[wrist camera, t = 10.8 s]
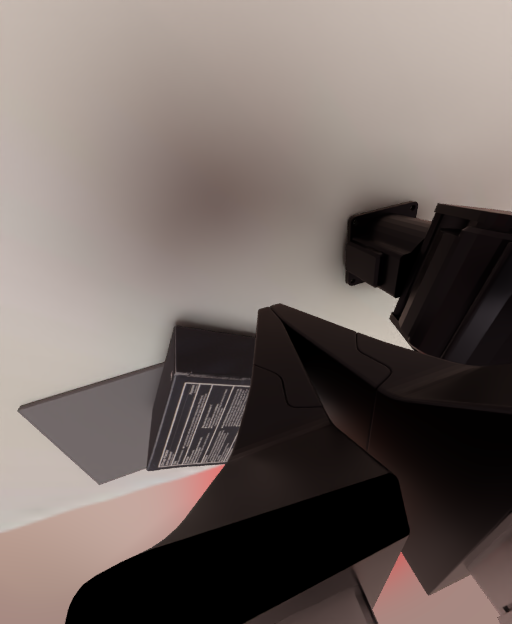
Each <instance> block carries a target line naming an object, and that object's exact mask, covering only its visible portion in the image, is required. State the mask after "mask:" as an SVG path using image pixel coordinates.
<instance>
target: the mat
mask: <svg viewBox="0 0 512 624" xmlns="http://www.w3.org/2000/svg"><path fill="white" fill-rule="evenodd" d="M164 364H165V362H164V363H161V364H158V365H154V366H151V367H148V368H144V369H141V370H138V371H135V372H131V373H128V374H125V375H121V376H118V377H115V378H112V379H108V380H105V381H102V382H98V383H95V384H92V385H89V386H85V387H82V388H79V389H75V390H72V391H69V392H66V393H62V394H59V395H56V396H52V397H49V398H46V399H43V400H39V401H36V402H33V403H29V404H26V405H23V406H20V408H19V409H18V412H19V413H20V414H21V415H22V416H23V417H24V418H26V419H27V420H28V421H29V422H30V423H31V424H32V425H33V426H34V427H36V428H37V429H38V430H39V431H40V432H41V433H42V434H43V435H44V436H46V437H47V438H48V439H49V440H50V441H51V442H52V443H53V444H54V445H56V446H57V447H58V448H59V449H60V450H61V451H62V452H63V453H64V454H66V455H67V456H68V457H69V458H70V459H71V460H72V461H73V462H74V463H76V464H77V465H78V466H79V467H80V468H81V469H82V470H83V471H84V472H86V473H87V474H88V475H89V476H90V477H91V478H92V479H93V480H94V481H96V482H97V483H98V484H99V485H101V484H103V483H106V482H109V481H112V480H115V479H117V478H120V477H123V476H126V475H129V474H131V473H134V472H137V471H140V470H142V469H145V468H146V466H147V457H148V447H149V437H150V428H151V419H152V409H153V405H154V402H155V398H156V394H157V390H158V387H159V383H160V379H161V375H162V371H163V368H164Z"/></svg>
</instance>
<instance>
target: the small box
mask: <svg viewBox="0 0 512 624" xmlns="http://www.w3.org/2000/svg"><path fill="white" fill-rule="evenodd" d="M254 348H255V338H252V337H246V336H239V335H233V334H225V333H219V332H213V331H207V330H200V329H193V328H186V327H180V326H175V327H174V330H173V334H172V338H171V341H170V345H169V349H168V353H167V356H166V360H165V364H164V368H163V371H162V375H161V379H160V383H159V387H158V390H157V394H156V398H155V402H154V405H153V409H152V419H151V428H150V437H149V447H148V457H147V466H146V470H147V471H154V470H160V469H169V468H178V467H187V466H189V467H190V466H204V465H219V464H226V463H227V461H228V459H229V457H230V455H231V453H232V450H233V447H234V444H235V441H236V437H237V434H238V430H239V427H240V423H241V420H242V416H243V412H244V409H245V405H246V402H247V398H248V393H249V389H250V383H251V377H252V367H253V359H254Z"/></svg>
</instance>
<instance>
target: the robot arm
mask: <svg viewBox="0 0 512 624" xmlns="http://www.w3.org/2000/svg"><path fill="white" fill-rule="evenodd" d="M411 206H412V208H411ZM410 208H411V209H410ZM417 209H418V203H417V202H414V201H409V202H405V203H401V204H397V205H393V206H389V207H385V208H381V209H377V210H373V211H369V212H365V213H361V214H357V215H353V216H351V217H350V219H349V221H348V240H347V245H346V283H347V284H349V285H350V286H353V285H357V284H360V283H363V282H366V283H368V284H369V285H371V286H373V287H374V288H376V287H378V288H380V289H382V290H383V291H385V292H386V293H388V294H390V295H391V296H393V297H395V298H398V297H400V298H399V300H398V302H397V305H396V307H395V309H394V312H392V313H391V315H390V318H389V319H390V320H391V322H392V323H393V324H394V325H395V327H396V328H397V329H398V331H399V332H400V333H401V335H402V336H403V337H404V338H405V340H406V341H407V342H408V344H409V345H410V346H411V347H412V349H413V350H414V351H413V350H410V349H406V348H403V347H399V346H396V345H393V344H390V343H386V342H383V341H381V340H378V339H375V338H372V337H369V336H366V335H364V334H361V333H357V334H356V332H355V331H353V330H350V329H347V328H345V327H342V326H339V325H337V324H334V323H331V322H329V321H326V320H323V319H321V318H318V317H315V316H313V315H310V314H307V313H305V312H302V311H299V310H297V309H294V308H291V307H289V306H286V305H283V304H280V303H279V304H275V305H272V306H270V307H265V308H262V309H259V310H258V318H257V328H256V338H255V348H254V359H253V367H252V377H251V383H250V389H249V393H248V398H247V402H246V405H245V409H244V412H243V416H242V420H241V423H240V427H239V430H238V434H237V437H236V441H235V444H234V447H233V450H232V453H231V455H230V457H229V459H228V461H227V463H226V464H225V466H224V467H223V469H222V470H221V471H220V473H219V474H218V475H217V477H216V478H215V479H214V480H213V482H212V483H211V485H210V486H209V487H208V489H207V490H206V491H205V492H204V494H203V495H202V497H201V498H200V499H199V500H198V502H197V503H196V505H195V506H194V507H193V508H192V510H191V511H190V512H189V514H188V515H187V516H186V518H185V519H184V520H183V521H182V523H181V524H180V525H179V526H178V527H177V528H176V529H175V530H174V531H173V532H172V533H171V534H170V535H168V536H167V537H166V538H165V539H164V540H162V541H161V542H159V543H158V544H156V545H155V546H153V547H152V548H150V549H148V550H146V551H144V552H142V553H140V554H138V555H136V556H133V557H131V558H129V559H127V560H125V561H122V562H120V563H119V564H117V565H115V566H113V567H111V568H109V569H107V570H106V571H104V572H102V573H100V574H98V575H96V576H95V577H93V578H92V579H90V580H89V581H88V582H86V583H85V584H83V586H82V587H81V588H80V589H79V590H78V592H77V593H76V595H75V596H74V598H73V600H72V602H71V604H70V606H69V609H68V613H67V617H66V622H65V624H378V622H377V619H376V617H375V615H374V612H373V610H372V609H373V607H374V605H375V603H376V601H377V599H378V597H379V595H380V593H381V591H382V589H383V587H384V585H385V583H386V581H387V579H388V577H389V575H390V573H391V571H392V568H393V567H394V564H395V562H396V560H397V558H398V556H399V554H400V552H402V554H403V555H404V557H405V559H406V560H407V562H408V563H409V565H410V567H411V568H412V570H413V572H414V573H415V575H416V577H417V578H418V580H419V582H420V583H421V585H422V586H423V588H424V590H425V591H426V593H427V594H428V595H431V594H433V593H435V592H437V591H439V590H441V589H443V588H445V587H447V586H449V585H451V584H453V583H455V582H457V581H459V580H461V579H463V578H465V577H467V576H469V575H472V576H473V578H474V579H475V580H476V582H477V584H478V585H479V586H480V588H481V589H482V591H483V592H484V593H485V595H486V596H487V598H488V599H489V600H490V602H491V603H492V604H493V606H494V607H495V609H496V610H497V611H498V613H499V614H500V616H499V617H498V620H499V622H500V624H512V212H509V211H501V210H494V209H486V208H477V207H468V206H459V205H450V204H440V203H438V204H437V206H436V209H435V211H434V212H436V213H435V215H434V218H433V220H432V221H427V220H423V219H418V218H416V215H417ZM355 220H356V223H355V224H354V221H355ZM352 279H353V280H352ZM351 280H352V281H351Z"/></svg>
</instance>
